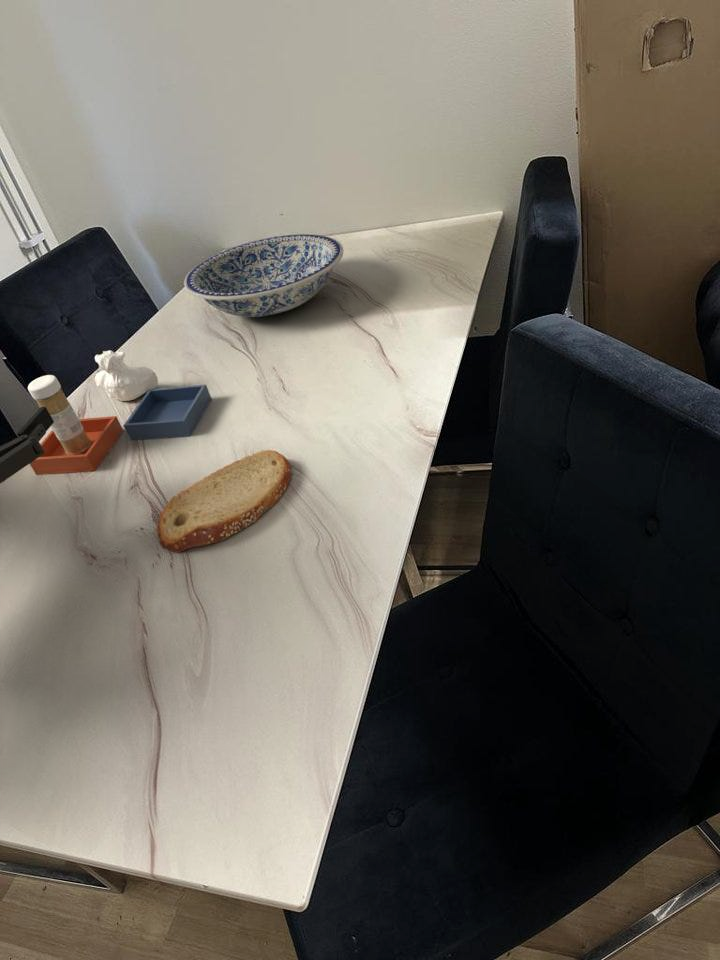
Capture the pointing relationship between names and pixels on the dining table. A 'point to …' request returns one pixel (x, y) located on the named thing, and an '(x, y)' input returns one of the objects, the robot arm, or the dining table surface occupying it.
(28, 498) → the dining table surface
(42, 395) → the sprinkles bottle
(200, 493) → the slice of bread
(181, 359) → the dining table surface
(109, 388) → the white animal figurine
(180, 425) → the slate tray
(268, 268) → the ceramic bowl
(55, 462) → the terracotta tray
